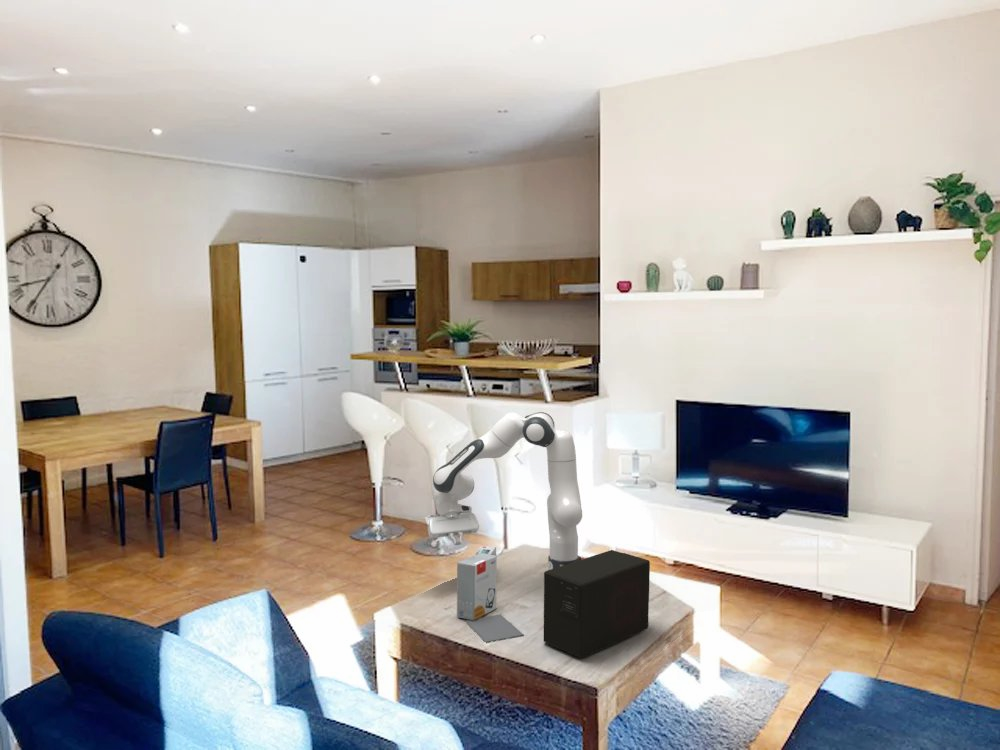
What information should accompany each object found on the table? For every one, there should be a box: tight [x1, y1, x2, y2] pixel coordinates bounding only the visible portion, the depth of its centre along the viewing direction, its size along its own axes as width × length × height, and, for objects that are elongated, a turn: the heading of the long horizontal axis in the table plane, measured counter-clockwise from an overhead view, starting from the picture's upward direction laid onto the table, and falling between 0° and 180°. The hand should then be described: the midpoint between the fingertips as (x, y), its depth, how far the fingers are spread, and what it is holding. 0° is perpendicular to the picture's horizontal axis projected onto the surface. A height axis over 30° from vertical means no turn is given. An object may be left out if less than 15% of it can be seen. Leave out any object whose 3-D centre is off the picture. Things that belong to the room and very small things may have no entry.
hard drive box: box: [456, 553, 498, 621], centre depth 279 cm, size 16×8×20 cm, turn 148°
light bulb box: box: [475, 545, 497, 556], centre depth 320 cm, size 11×7×11 cm, turn 168°
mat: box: [464, 613, 525, 643], centre depth 267 cm, size 14×19×1 cm
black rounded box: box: [543, 549, 651, 659], centre depth 260 cm, size 38×20×25 cm, turn 132°
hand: (458, 544), depth 296 cm, fingers closed
